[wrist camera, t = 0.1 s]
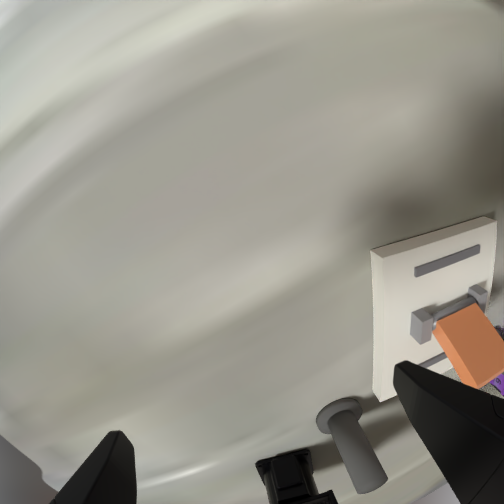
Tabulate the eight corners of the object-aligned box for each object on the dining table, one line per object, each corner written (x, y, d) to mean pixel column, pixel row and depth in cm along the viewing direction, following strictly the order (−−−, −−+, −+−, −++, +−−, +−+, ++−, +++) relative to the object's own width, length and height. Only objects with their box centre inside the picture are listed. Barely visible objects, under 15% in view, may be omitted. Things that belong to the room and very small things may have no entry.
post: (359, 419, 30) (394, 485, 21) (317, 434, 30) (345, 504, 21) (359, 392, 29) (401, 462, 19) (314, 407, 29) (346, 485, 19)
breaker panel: (468, 344, 30) (487, 360, 26) (372, 390, 29) (387, 413, 26) (483, 216, 25) (510, 225, 21) (370, 249, 24) (394, 266, 20)
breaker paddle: (465, 303, 25) (509, 367, 19) (422, 323, 25) (466, 396, 18) (470, 292, 24) (517, 357, 18) (427, 312, 24) (474, 387, 17)
